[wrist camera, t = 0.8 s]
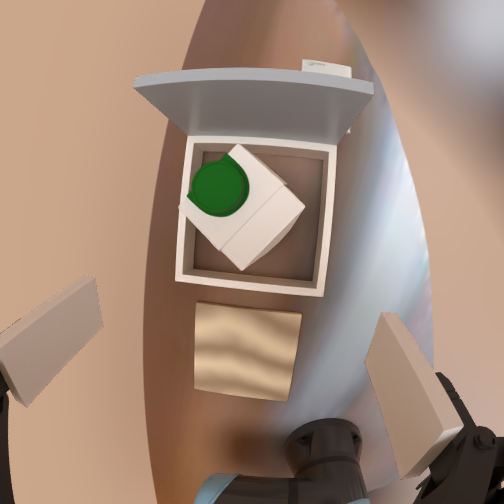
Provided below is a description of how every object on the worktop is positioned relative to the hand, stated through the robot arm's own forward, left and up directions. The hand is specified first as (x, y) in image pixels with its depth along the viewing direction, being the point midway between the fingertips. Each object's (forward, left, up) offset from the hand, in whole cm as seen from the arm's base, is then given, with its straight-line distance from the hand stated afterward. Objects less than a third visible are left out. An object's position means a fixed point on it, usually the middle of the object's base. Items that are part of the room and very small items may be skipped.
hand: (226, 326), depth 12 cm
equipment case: (+9, +2, -30) cm, 31 cm away
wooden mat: (-16, +2, -30) cm, 34 cm away
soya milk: (+6, +2, -30) cm, 30 cm away
